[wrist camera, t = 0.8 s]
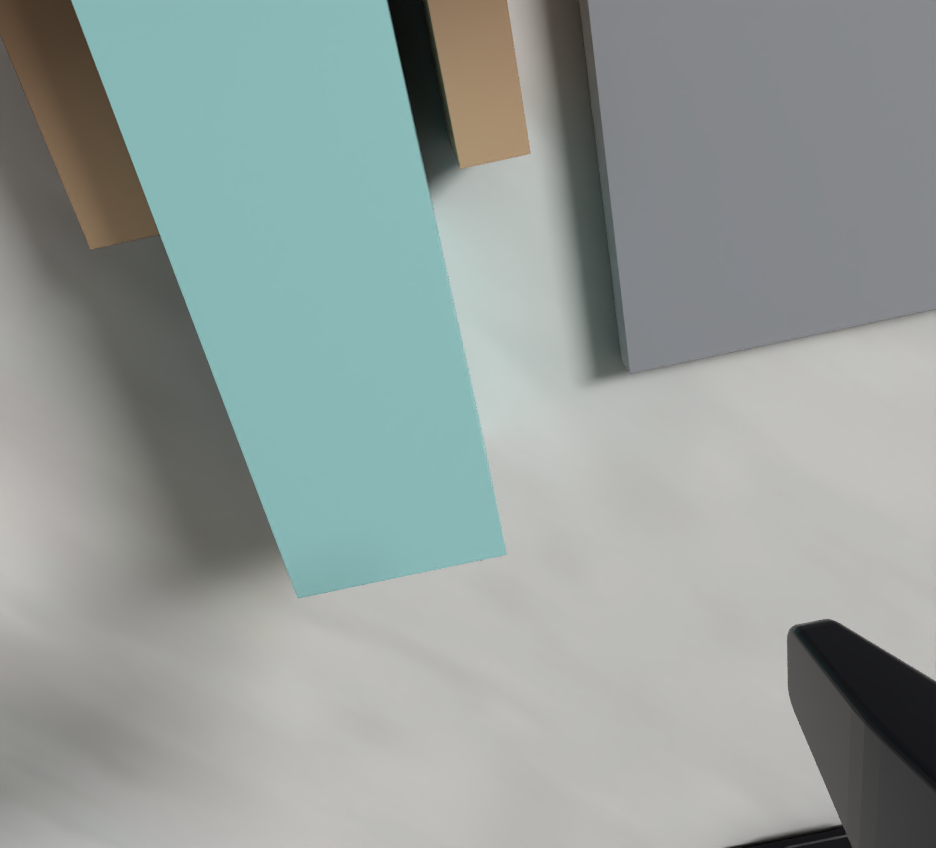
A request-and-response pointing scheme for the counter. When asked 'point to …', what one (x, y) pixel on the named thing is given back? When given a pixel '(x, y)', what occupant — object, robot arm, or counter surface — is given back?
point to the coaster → (762, 168)
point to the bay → (106, 155)
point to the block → (309, 271)
